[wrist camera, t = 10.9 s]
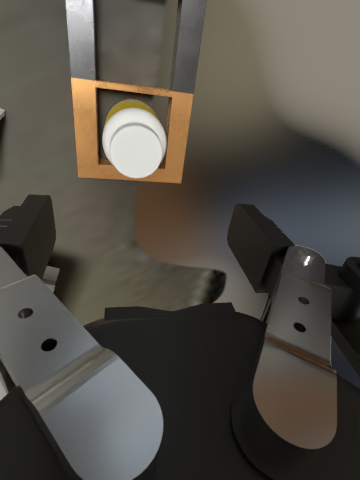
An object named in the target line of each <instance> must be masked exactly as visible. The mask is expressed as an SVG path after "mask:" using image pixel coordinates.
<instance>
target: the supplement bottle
mask: <svg viewBox="0 0 360 480" xmlns="http://www.w3.org/2000/svg"><path fill="white" fill-rule="evenodd" d="M102 143H103V149H104V152H105V154H106V156H107V158H108V160H109V161H110V162H111V163H112V164H113V165H114V166H115V168H116V169H117V170H118V171H119V172H120V173H122V174H123V175H125V176H127V177H130V178H144V177H147V176H149V175H151V174H152V173H153V172H154V171H155V170H156V169H157V168H158V167H159V165H160V163H161V161H162V159H163V157H164V155H165V152H166V145H167V141H166V135H165V131H164V129H163V127H162V125H161V123H160V121H159V120H158V118H157V116H156V114H155V113H154V111H153V110H152V108H151V107H150V106H149V105H147V104H146V103H145V102H143V101H141V100H138V99H132V98H129V99H124V100H121V101H119V102H117V103H116V104H115V105H114V106H113V107H112V108H111V109H110V111H109V112H108V114H107V117H106V121H105V126H104V129H103V136H102Z"/></svg>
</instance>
